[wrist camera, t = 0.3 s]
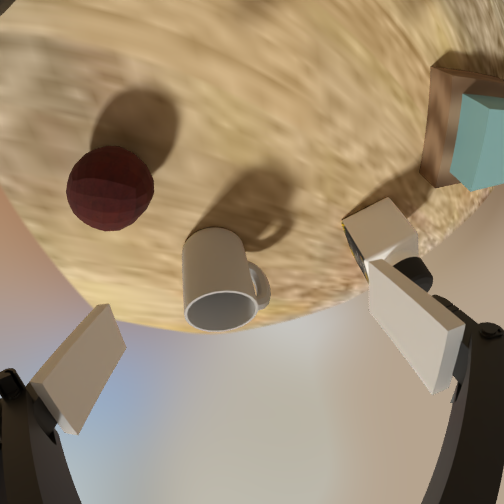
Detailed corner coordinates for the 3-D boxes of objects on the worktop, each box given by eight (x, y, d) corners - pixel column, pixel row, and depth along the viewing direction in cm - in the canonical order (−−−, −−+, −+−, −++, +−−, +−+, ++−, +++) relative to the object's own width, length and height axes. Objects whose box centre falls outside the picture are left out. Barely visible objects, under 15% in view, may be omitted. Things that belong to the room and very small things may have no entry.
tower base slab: (427, 65, 21) (452, 75, 18) (495, 76, 21) (516, 87, 18) (416, 170, 31) (435, 188, 28) (480, 160, 31) (497, 175, 28)
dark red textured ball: (84, 128, 20) (54, 165, 15) (165, 141, 23) (158, 180, 18) (79, 196, 25) (58, 243, 20) (150, 207, 28) (143, 256, 23)
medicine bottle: (339, 219, 34) (384, 298, 26) (388, 194, 32) (442, 265, 24) (351, 252, 39) (388, 323, 31) (394, 230, 37) (437, 296, 29)
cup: (193, 218, 30) (197, 284, 24) (274, 238, 34) (295, 299, 28) (174, 264, 34) (176, 328, 28) (248, 277, 38) (262, 336, 32)
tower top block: (462, 93, 20) (489, 109, 17) (507, 98, 20) (530, 113, 17) (449, 171, 27) (470, 191, 24) (493, 164, 27) (512, 181, 24)
